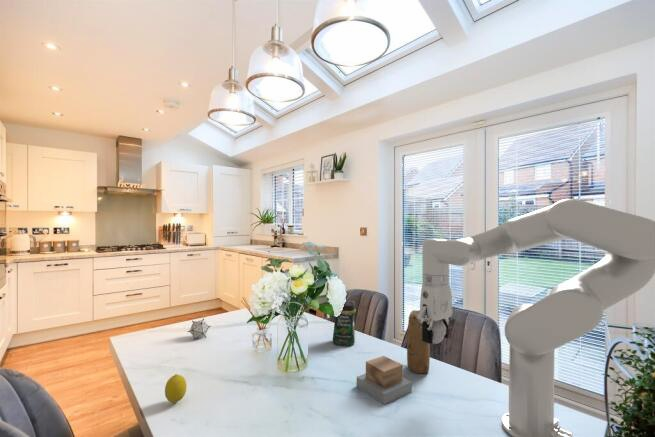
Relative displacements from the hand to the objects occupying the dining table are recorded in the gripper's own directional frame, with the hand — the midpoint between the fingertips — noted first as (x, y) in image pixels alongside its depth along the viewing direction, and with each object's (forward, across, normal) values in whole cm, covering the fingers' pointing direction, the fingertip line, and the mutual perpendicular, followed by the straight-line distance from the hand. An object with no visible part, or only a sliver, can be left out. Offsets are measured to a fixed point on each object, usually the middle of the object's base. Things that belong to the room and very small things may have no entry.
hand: (435, 339), depth 93 cm
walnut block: (+14, -9, +12) cm, 21 cm away
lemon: (+17, -64, +40) cm, 77 cm away
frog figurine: (+1, 0, 0) cm, 1 cm away
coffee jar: (+17, +4, +48) cm, 51 cm away
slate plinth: (+17, -9, +12) cm, 23 cm away
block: (+18, +12, +15) cm, 26 cm away
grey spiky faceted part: (+17, -46, +88) cm, 101 cm away
